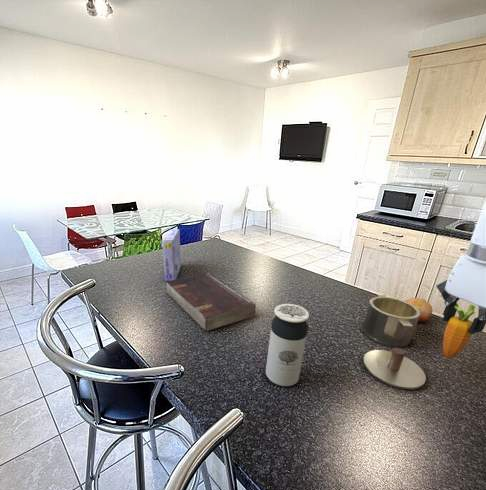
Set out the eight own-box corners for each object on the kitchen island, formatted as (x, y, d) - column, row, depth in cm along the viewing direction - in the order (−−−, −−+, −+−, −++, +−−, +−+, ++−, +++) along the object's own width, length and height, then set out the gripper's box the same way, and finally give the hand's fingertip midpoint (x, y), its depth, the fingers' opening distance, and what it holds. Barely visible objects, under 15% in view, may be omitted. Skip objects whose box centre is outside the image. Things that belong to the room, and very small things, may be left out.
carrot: (440, 363, 71) (461, 310, 65) (431, 350, 75) (450, 299, 69) (463, 366, 70) (488, 312, 64) (453, 353, 74) (475, 302, 68)
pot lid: (407, 356, 79) (414, 337, 77) (436, 394, 67) (445, 373, 64) (355, 351, 81) (360, 332, 78) (373, 387, 68) (380, 366, 66)
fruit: (427, 310, 99) (435, 297, 93) (425, 330, 96) (433, 318, 90) (400, 304, 103) (406, 291, 97) (397, 322, 99) (403, 310, 93)
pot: (394, 319, 96) (402, 294, 92) (423, 355, 80) (435, 325, 76) (354, 316, 98) (361, 291, 94) (375, 350, 81) (383, 321, 77)
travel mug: (269, 360, 76) (276, 300, 69) (300, 369, 74) (311, 307, 66) (262, 381, 69) (270, 316, 62) (296, 391, 67) (309, 324, 60)
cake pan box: (171, 264, 137) (170, 227, 130) (181, 264, 137) (181, 227, 130) (163, 281, 119) (161, 240, 112) (175, 282, 119) (174, 240, 112)
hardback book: (254, 315, 97) (256, 302, 95) (206, 332, 87) (206, 318, 85) (209, 283, 119) (209, 271, 117) (166, 293, 110) (166, 281, 108)
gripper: (554, 264, 56) (514, 342, 63) (457, 240, 70) (433, 306, 77) (533, 270, 53) (494, 351, 60) (436, 243, 67) (414, 311, 75)
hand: (460, 325), depth 69 cm, fingers closed on carrot, 4 cm apart
